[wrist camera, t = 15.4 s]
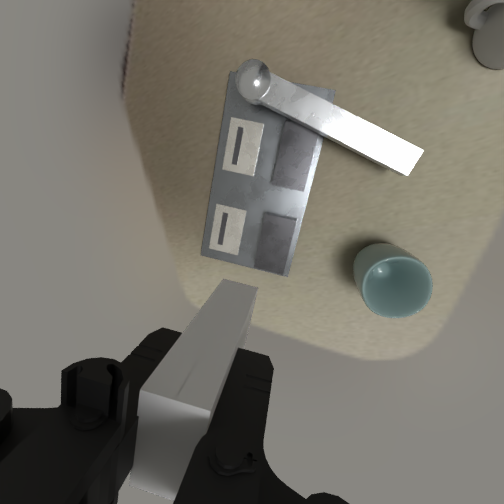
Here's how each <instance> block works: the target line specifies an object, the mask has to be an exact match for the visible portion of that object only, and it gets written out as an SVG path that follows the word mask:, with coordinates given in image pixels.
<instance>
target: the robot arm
mask: <svg viewBox="0 0 504 504" xmlns="http://www.w3.org/2000/svg"><path fill="white" fill-rule="evenodd" d="M257 291H258V287H254V286H250V285H246V284H242V283H238V282H235V281H231V280H227V279H223V280H222V281H221V283H220V284H219V285H218V287H217V288H216V289H215V291H214V292H213V293H212V295H211V296H210V297H209V299H208V300H207V301H206V303H205V304H204V305H203V306H202V308H201V309H200V310H199V312H198V313H197V315H196V316H195V317H194V319H193V320H192V321H191V322H190V324H189V325H188V326H187V328H186V329H185V330H184V332H183V333H181V332H177V331H174V330H170V329H166V328H161V329H159V330H156V331H154V332H152V333H150V334H149V335H147V337H146V338H145V339H144V340H143V341H142V342H141V343H140V344H139V346H137V347H136V348H135V349H134V350H133V351H132V352H131V354H130V355H128V356H127V357H126V358H125V359H124V360H123V361H122V362H118V361H117V360H114V359H109V358H102V357H100V358H91V359H85V360H82V361H79V362H76V363H73V364H71V365H70V366H68V367H67V368H65V369H63V370H62V373H61V374H62V375H61V377H62V378H61V405H60V406H59V407H57V408H12V398H11V396H10V395H9V393H8V392H7V391H5V390H3V389H0V504H117V502H118V491H119V489H120V488H121V486H122V484H123V482H124V481H125V479H126V477H127V475H128V474H129V472H130V470H131V473H130V482H129V486H132V487H135V488H138V489H140V490H143V491H146V492H149V493H152V494H155V495H158V496H161V497H163V498H166V499H169V500H172V501H174V503H173V504H349V503H347V502H346V501H344V500H343V499H342V498H340V497H339V496H335V495H331V494H328V493H325V492H324V493H317V494H311V495H310V496H309V497H308V498H307V499H305V498H303V497H302V496H301V495H299V494H298V493H297V492H295V491H294V490H292V489H291V488H290V487H288V486H287V485H286V484H285V483H283V482H282V481H281V480H280V479H279V478H278V477H277V476H276V475H275V473H274V472H273V471H272V469H271V468H270V466H269V464H268V462H267V460H266V458H265V454H264V449H263V439H264V433H265V426H266V418H267V412H268V405H269V398H270V391H271V383H272V376H273V370H274V368H273V366H272V363H271V361H270V358H269V356H266V355H263V354H259V353H256V352H252V351H249V350H245V349H244V346H245V343H246V339H247V335H248V330H249V326H250V321H251V317H252V313H253V308H254V304H255V300H256V295H257Z"/></svg>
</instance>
